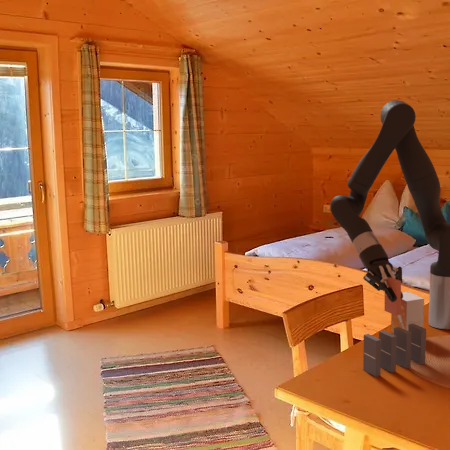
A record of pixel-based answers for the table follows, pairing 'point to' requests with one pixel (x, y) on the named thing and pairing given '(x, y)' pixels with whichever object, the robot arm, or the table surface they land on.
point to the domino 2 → (396, 287)
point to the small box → (409, 312)
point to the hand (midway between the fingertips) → (397, 299)
